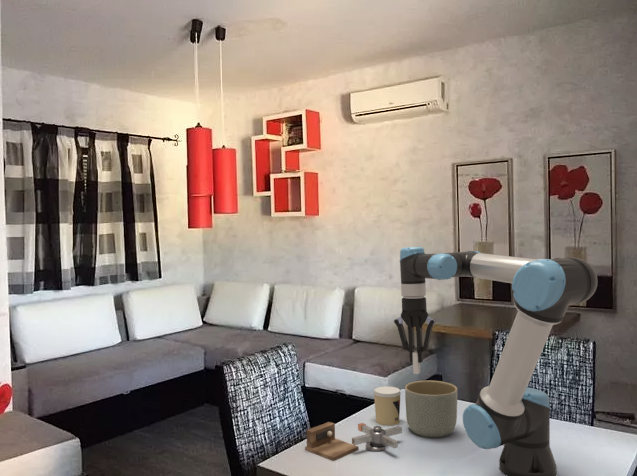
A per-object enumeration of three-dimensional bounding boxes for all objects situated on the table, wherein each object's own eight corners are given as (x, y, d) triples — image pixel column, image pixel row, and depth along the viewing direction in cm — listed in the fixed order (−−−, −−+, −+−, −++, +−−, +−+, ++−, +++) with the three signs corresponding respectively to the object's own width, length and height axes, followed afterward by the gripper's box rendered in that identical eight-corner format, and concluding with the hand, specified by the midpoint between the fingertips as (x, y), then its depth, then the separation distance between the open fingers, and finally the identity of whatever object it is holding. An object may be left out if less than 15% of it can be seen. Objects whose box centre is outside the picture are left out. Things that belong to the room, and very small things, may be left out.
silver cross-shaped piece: (383, 432, 193) (382, 413, 193) (419, 450, 178) (419, 430, 177) (336, 443, 184) (336, 424, 184) (371, 464, 168) (370, 443, 168)
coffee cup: (400, 429, 198) (399, 394, 197) (372, 428, 200) (372, 393, 199) (402, 420, 207) (401, 386, 207) (375, 418, 209) (375, 385, 208)
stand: (398, 450, 181) (398, 427, 180) (352, 471, 166) (352, 447, 166) (351, 434, 195) (350, 413, 194) (305, 453, 180) (304, 430, 180)
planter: (403, 441, 188) (402, 393, 187) (408, 422, 204) (407, 379, 204) (457, 445, 184) (457, 396, 183) (458, 426, 200) (457, 381, 200)
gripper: (437, 295, 183) (440, 371, 183) (396, 295, 188) (399, 369, 188) (431, 298, 176) (434, 377, 176) (389, 298, 181) (393, 374, 181)
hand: (416, 372), depth 182 cm, fingers closed
